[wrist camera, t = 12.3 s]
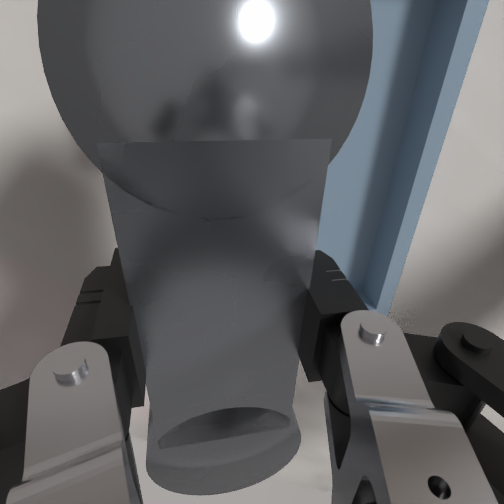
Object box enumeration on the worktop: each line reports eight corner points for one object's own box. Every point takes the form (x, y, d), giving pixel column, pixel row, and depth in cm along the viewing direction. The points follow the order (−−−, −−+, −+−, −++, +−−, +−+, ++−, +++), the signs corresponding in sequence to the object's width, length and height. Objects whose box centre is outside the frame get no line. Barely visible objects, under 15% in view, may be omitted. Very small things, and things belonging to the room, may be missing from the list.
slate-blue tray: (467, -68, 15) (516, -84, 13) (368, 295, 25) (386, 318, 23) (264, -90, 13) (282, -113, 11) (249, 309, 24) (256, 335, 22)
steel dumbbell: (316, -71, 7) (410, -140, 4) (271, 397, 16) (293, 479, 13) (63, -96, 6) (-26, -200, 4) (159, 414, 15) (156, 506, 12)
